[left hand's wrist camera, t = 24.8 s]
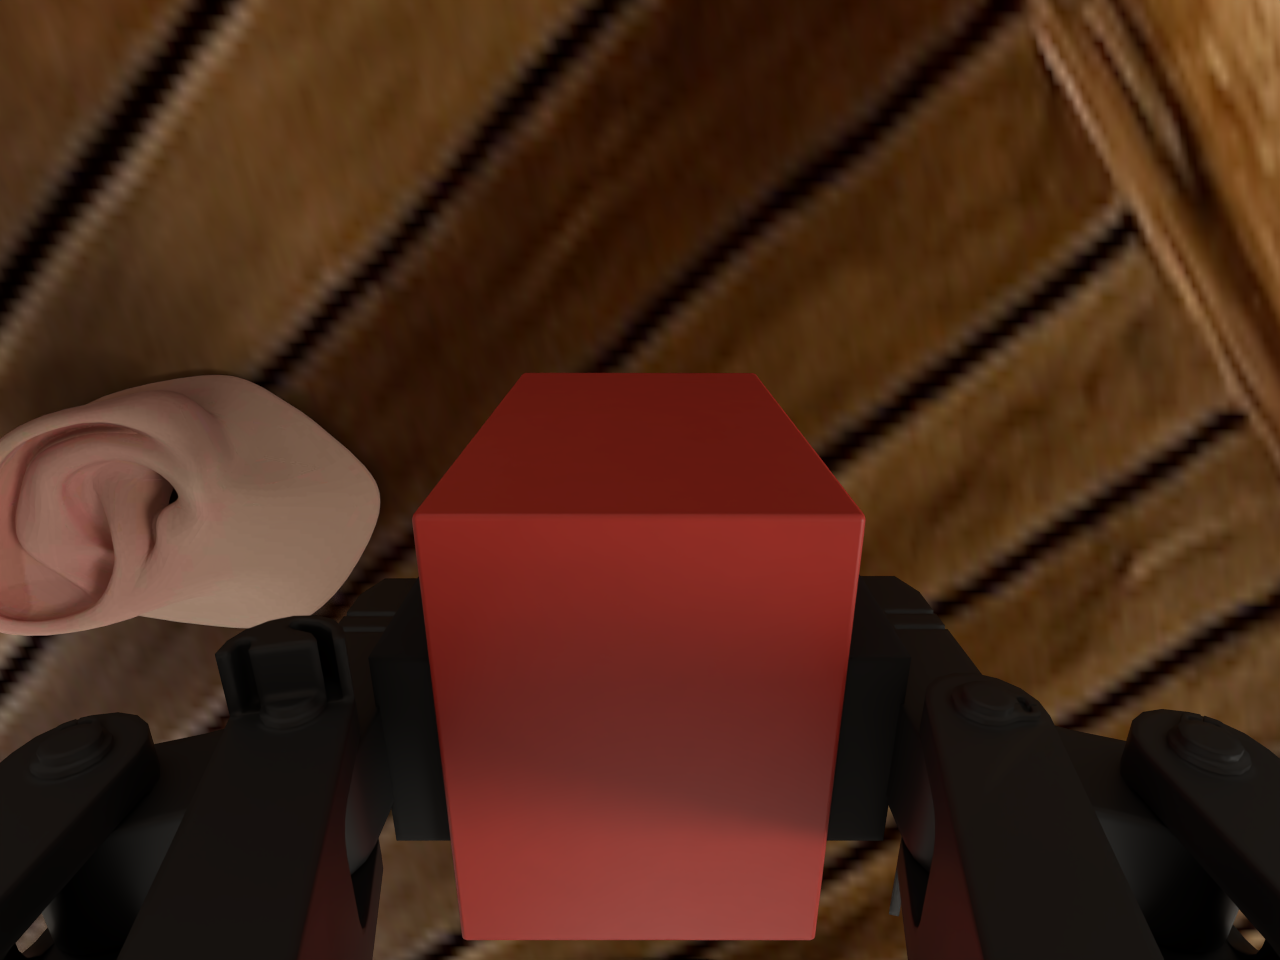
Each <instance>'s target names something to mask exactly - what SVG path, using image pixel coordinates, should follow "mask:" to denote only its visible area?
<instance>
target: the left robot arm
mask: <svg viewBox="0 0 1280 960" xmlns="http://www.w3.org/2000/svg"><path fill="white" fill-rule="evenodd" d="M215 657H216V661H217V665H218V669H219V673H220V677H221V681H222V685H223V690H224V694H225V698H226V702H227V706H228V710H229V714H230V718H229V720H228V722H227V725H226V727H225V729H222V730H218V731H214V732H211V733H207V734H202V735H197V736H192V737H187V738H182V739H177V740H173V741H168V742H163V743H158V744H154V743H153V739H152V736H151V733H150V729H149V726H148V724H147V723H146V722H145V721H144V720H143V719H141V718H140V717H139V716H138V715H132V714H126V713H119V712H117V713H108V714H99V715H91V716H87V717H82V718H80V719H78V720H76V719H75V720H72V721H69V722H66V723H63V724H61V725H59V726H58V727H56V728H54V729H52V730H50V731H47V732H45V733H43V734H41V735H39V736H37V737H35V738H33V739H32V740H30V741H29V742H28V743H26V744H25V745H23V746H22V747H20V748H19V749H17V750H16V751H14V752H13V753H11V754H10V755H9V756H8V757H7V758H5V759H4V760H3V761H2V762H1V763H0V960H372V957H373V949H374V941H375V932H376V924H377V916H378V907H379V899H380V891H381V882H382V874H383V864H382V856H381V850H380V844H379V835H380V833H381V831H382V828H383V826H384V824H385V821H386V819H387V817H388V814H389V812H390V810H391V808H392V814H393V820H394V827H395V833H396V839H397V840H451V838H450V830H449V822H448V813H447V805H446V797H445V788H444V780H443V772H442V763H441V755H440V747H439V739H438V730H437V722H436V714H435V705H434V697H433V689H432V680H431V672H430V664H429V655H428V647H427V639H426V630H425V622H424V614H423V605H422V597H421V589H420V580H419V577H418V578H394V579H384V580H382V581H381V582H379V583H377V584H376V585H374V586H373V587H371V588H370V589H368V590H366V591H365V592H363V593H362V594H360V596H359V597H358V598H357V600H356V601H355V602H354V604H353V605H352V606H351V608H350V609H349V610H348V612H347V616H344V617H343V618H342V620H341V621H340V622H339V624H338V623H337V622H336V621H335V620H333V619H330V618H326V617H321V616H317V615H302V616H290V617H285V618H280V619H275V620H270V621H267V622H264V623H262V624H259V625H256V626H254V627H251V628H248V629H246V630H244V631H243V632H241V633H239V634H238V635H236V636H234V637H233V638H231V639H229V640H228V641H227V642H226V643H225V644H224V645H223V646H222V647H221V648H220V649H219V650H218V651H217V652H216V654H215ZM888 805H889V807H890V810H891V812H892V814H893V817H894V819H895V821H896V824H897V826H898V828H899V831H900V833H901V835H902V838H901V844H900V850H899V856H898V862H897V868H896V874H895V879H894V885H893V891H892V897H891V904H890V912H889V914H891V915H896V916H899V912H900V906H902V914H903V922H904V931H905V939H906V947H907V956H908V960H1280V759H1279V758H1278V757H1277V756H1276V755H1275V754H1273V753H1272V752H1271V751H1270V750H1269V749H1267V748H1266V747H1264V746H1263V745H1261V744H1260V743H1258V742H1257V741H1255V740H1254V739H1252V738H1251V737H1249V736H1248V735H1246V734H1245V733H1243V732H1240V731H1238V730H1236V729H1234V728H1232V727H1230V726H1227V725H1225V724H1223V723H1222V722H1220V721H1218V720H1216V719H1213V718H1210V717H1207V716H1204V717H1203V716H1201V715H1200V714H1195V713H1191V712H1184V711H1175V710H1166V709H1159V710H1153V711H1146V712H1142V713H1141V714H1140V715H1139V716H1137V717H1136V718H1135V719H1134V720H1132V724H1131V727H1130V730H1129V734H1128V737H1127V741H1123V740H1118V739H1113V738H1108V737H1103V736H1098V735H1093V734H1088V733H1084V732H1079V731H1074V730H1070V729H1066V728H1062V727H1058V726H1055V725H1054V723H1053V721H1052V719H1051V717H1050V715H1049V714H1048V713H1047V711H1046V710H1045V709H1044V708H1043V706H1042V705H1041V704H1040V702H1039V701H1038V700H1036V699H1035V698H1033V697H1032V696H1030V695H1029V694H1028V693H1026V692H1025V691H1023V690H1022V689H1021V688H1018V687H1016V686H1014V685H1012V684H1009V683H1007V682H1005V681H1002V680H1000V679H997V678H993V677H989V676H984V675H982V674H981V673H980V671H979V670H978V669H977V667H976V666H975V665H974V663H973V662H972V661H971V660H970V658H969V657H968V656H967V654H966V653H965V652H964V650H963V649H962V648H961V646H960V645H959V644H958V642H957V641H956V640H955V638H954V637H953V636H952V634H951V633H950V632H949V631H948V629H945V625H944V624H943V623H942V621H941V620H940V619H939V617H938V616H937V615H936V614H933V609H932V608H931V607H930V605H929V604H928V603H927V602H926V600H925V599H924V598H923V596H922V595H921V594H920V592H919V591H917V590H915V589H914V588H912V587H911V586H909V585H908V584H906V583H904V582H903V581H901V580H900V579H898V578H897V577H895V576H860V575H859V578H858V586H857V594H856V602H855V611H854V619H853V627H852V635H851V643H850V652H849V660H848V668H847V676H846V685H845V693H844V701H843V709H842V717H841V726H840V734H839V742H838V750H837V758H836V767H835V775H834V783H833V791H832V800H831V808H830V816H829V824H828V832H827V840H883V836H884V830H885V824H886V817H887V811H888ZM1238 910H1240V911H1241V912H1242V913H1243V914H1244V915H1245V916H1246V917H1247V919H1248V920H1249V921H1250V922H1251V923H1252V924H1253V925H1254V927H1255V928H1256V929H1257V930H1258V931H1259V932H1260V933H1261V935H1262V936H1263V937H1264V938H1265V942H1264V944H1263V946H1262V948H1261V949H1260V950H1256V949H1255V948H1254V947H1253V946H1252V945H1251V944H1250V943H1249V942H1248V941H1247V940H1246V939H1245V938H1244V937H1243V936H1242V935H1241V934H1240V932H1239V931H1238V930H1237V929H1236V928H1235V927H1234V925H1233V923H1234V920H1235V918H1236V915H1237V913H1238ZM41 913H42V914H43V917H44V919H45V922H46V924H47V927H48V928H47V929H46V930H45V931H44V932H43V934H42V935H41V936H40V937H39V938H38V940H37V941H36V942H35V943H34V944H33V945H31V946H30V947H29V948H28V949H27V950H26V951H25V952H23V953H21V952H20V951H19V950H18V948H17V946H16V942H17V941H18V939H19V938H20V937H21V936H22V935H23V934H24V932H25V931H26V930H27V929H28V928H29V927H30V926H31V924H32V923H33V922H34V921H35V920H36V919H37V918H38V916H39V915H40V914H41Z"/></svg>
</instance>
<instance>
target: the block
mask: <svg viewBox="0 0 1280 960" xmlns="http://www.w3.org/2000/svg"><path fill="white" fill-rule="evenodd" d="M865 520H866V519H865V516H864V514H863V513H862V511H861V510H860V509H859V507H858V506H857V505H856V504H855V502H854V501H853V500H852V498H851V497H850V496H849V495H848V493H847V492H846V491H845V489H844V488H843V487H842V485H841V484H840V483H839V482H838V480H837V479H836V478H835V476H834V475H833V474H832V473H831V471H830V470H829V469H828V467H827V466H826V465H825V464H824V462H823V461H822V460H821V458H820V457H819V456H818V454H817V453H816V452H815V451H814V449H813V448H812V447H811V445H810V444H809V443H808V442H807V440H806V439H805V438H804V436H803V435H802V434H801V432H800V431H799V430H798V429H797V427H796V426H795V425H794V423H793V422H792V421H791V420H790V418H789V417H788V416H787V414H786V413H785V412H784V411H783V409H782V408H781V407H780V405H779V404H778V403H777V401H776V400H775V399H774V398H773V396H772V395H771V394H770V392H769V391H768V390H767V389H766V387H765V386H764V385H763V383H762V382H761V381H760V380H759V378H758V377H757V376H756V374H753V373H524V374H522V376H521V377H520V378H519V380H518V381H517V382H516V383H515V385H514V386H513V387H512V389H511V390H510V391H509V392H508V394H507V395H506V396H505V398H504V399H503V400H502V401H501V403H500V404H499V405H498V407H497V408H496V409H495V410H494V412H493V413H492V414H491V416H490V417H489V418H488V419H487V421H486V422H485V423H484V425H483V426H482V427H481V428H480V430H479V431H478V432H477V434H476V435H475V436H474V437H473V439H472V440H471V441H470V443H469V444H468V445H467V446H466V448H465V449H464V450H463V452H462V453H461V454H460V455H459V457H458V458H457V459H456V461H455V462H454V463H453V464H452V466H451V467H450V468H449V470H448V471H447V472H446V473H445V475H444V476H443V477H442V479H441V480H440V481H439V482H438V484H437V485H436V486H435V488H434V489H433V490H432V491H431V493H430V494H429V495H428V496H427V498H426V499H425V500H424V502H423V503H422V504H421V505H420V507H419V508H418V509H417V511H416V512H415V513H414V515H413V518H412V522H413V530H414V539H415V547H416V555H417V564H418V572H419V580H420V589H421V597H422V605H423V614H424V622H425V630H426V639H427V647H428V655H429V664H430V672H431V680H432V689H433V697H434V705H435V714H436V722H437V730H438V739H439V747H440V755H441V763H442V772H443V780H444V788H445V797H446V805H447V813H448V822H449V830H450V838H451V847H452V855H453V863H454V872H455V880H456V888H457V897H458V905H459V913H460V922H461V930H462V937H463V938H464V939H466V940H812V939H814V937H815V931H816V923H817V915H818V906H819V898H820V890H821V882H822V874H823V865H824V857H825V849H826V841H827V832H828V824H829V816H830V808H831V800H832V791H833V783H834V775H835V767H836V758H837V750H838V742H839V734H840V726H841V717H842V709H843V701H844V693H845V685H846V676H847V668H848V660H849V652H850V643H851V635H852V627H853V619H854V611H855V602H856V594H857V586H858V578H859V569H860V561H861V553H862V545H863V537H864V528H865Z"/></svg>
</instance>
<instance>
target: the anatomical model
mask: <svg viewBox="0 0 1280 960" xmlns="http://www.w3.org/2000/svg"><path fill="white" fill-rule="evenodd" d="M379 509H380V493H379V490H378V486H377V484H376V482H375V480H374V478H373V477H372V475H371V474H370V472H369V471H368V470H367V469H366V467H365V466H364V465H363V464H362V463H361V462H360V461H359V460H358V459H357V458H356V457H355V456H354V455H353V454H352V453H351V452H350V451H349V450H348V449H347V448H346V447H344V446H343V445H342V444H341V443H340V442H338V441H337V440H336V439H335V438H334V437H332V436H331V435H330V434H329V433H328V432H326V431H325V430H324V429H323V428H322V427H320V426H319V425H318V424H317V423H316V422H314V421H313V420H312V419H311V418H309V417H308V416H307V415H305V414H304V413H303V412H301V411H300V410H298V409H296V408H295V407H293V406H292V405H290V404H288V403H287V402H285V401H284V400H282V399H280V398H279V397H277V396H276V395H274V394H273V393H271V392H269V391H268V390H266V389H264V388H263V387H261V386H259V385H257V384H254V383H252V382H250V381H248V380H245V379H242V378H238V377H234V376H227V375H201V376H193V377H186V378H178V379H172V380H167V381H161V382H156V383H150V384H146V385H142V386H138V387H133V388H129V389H126V390H122V391H119V392H116V393H112V394H109V395H106V396H103V397H101V398H99V399H97V400H95V401H92V402H90V403H88V404H86V405H82V406H77V407H72V408H68V409H64V410H60V411H57V412H53V413H50V414H47V415H43V416H41V417H38V418H36V419H33V420H31V421H29V422H27V423H25V424H23V425H21V426H19V427H17V428H15V429H14V430H12V431H10V432H9V433H7V434H6V435H5V436H3V437H2V438H1V439H0V632H1V633H7V634H14V635H26V636H32V635H54V634H63V633H70V632H77V631H84V630H88V629H93V628H97V627H102V626H106V625H110V624H113V623H117V622H120V621H124V620H127V619H130V618H133V617H136V616H144V617H151V618H157V619H163V620H170V621H176V622H184V623H193V624H202V625H211V626H222V627H232V628H251V627H254V626H256V625H259V624H262V623H264V622H267V621H270V620H275V619H280V618H285V617H290V616H302V615H311V614H313V613H314V612H315V611H317V610H318V609H319V608H321V607H322V606H323V605H324V604H325V603H326V602H327V601H328V600H329V599H330V598H331V597H332V596H333V595H334V594H335V593H336V592H337V591H338V589H339V588H340V587H341V586H342V584H343V583H344V582H345V581H346V579H347V578H348V576H349V575H350V573H351V572H352V570H353V569H354V567H355V565H356V564H357V562H358V561H359V559H360V557H361V555H362V553H363V551H364V550H365V548H366V546H367V544H368V542H369V540H370V538H371V535H372V533H373V530H374V528H375V525H376V522H377V519H378V515H379Z"/></svg>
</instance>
